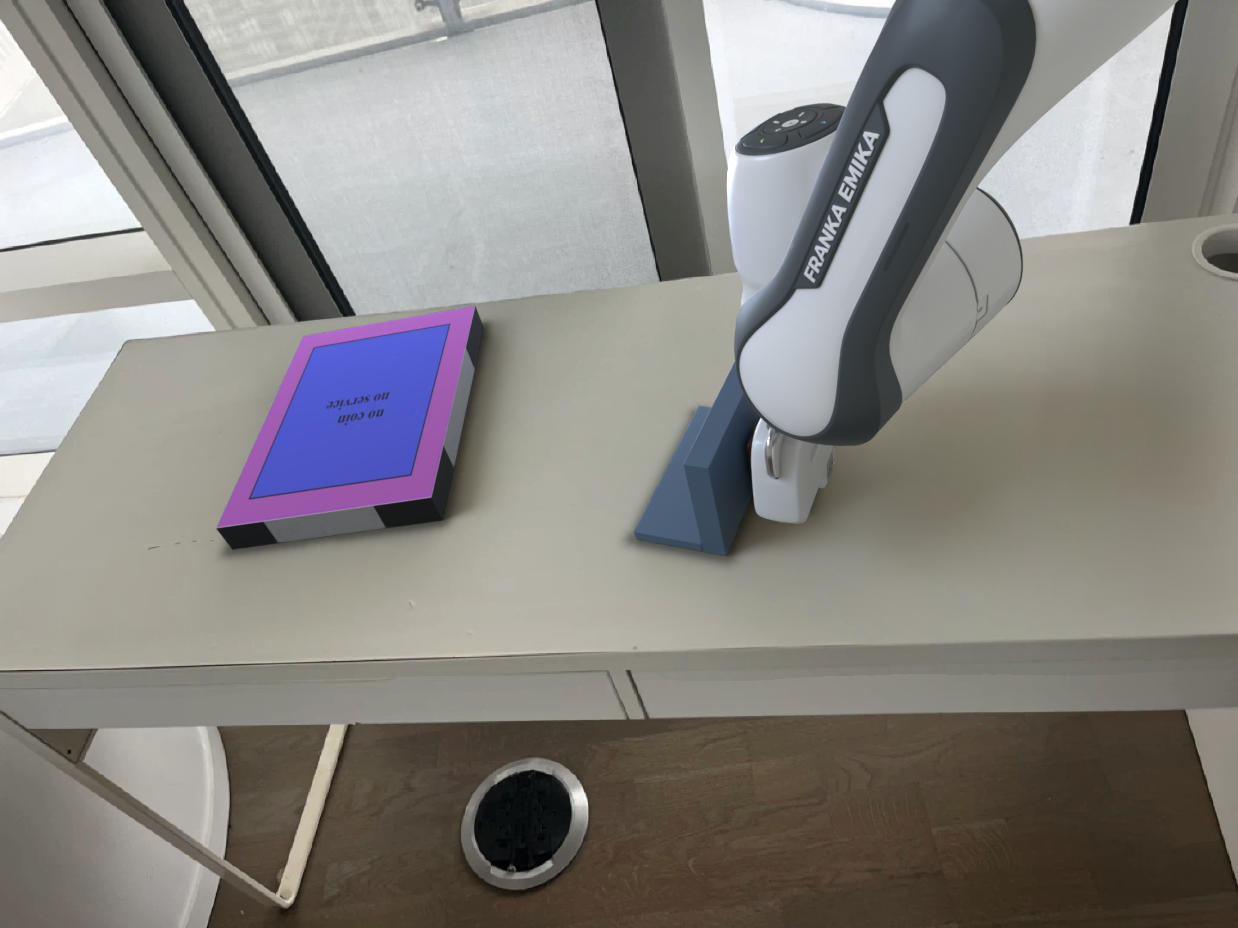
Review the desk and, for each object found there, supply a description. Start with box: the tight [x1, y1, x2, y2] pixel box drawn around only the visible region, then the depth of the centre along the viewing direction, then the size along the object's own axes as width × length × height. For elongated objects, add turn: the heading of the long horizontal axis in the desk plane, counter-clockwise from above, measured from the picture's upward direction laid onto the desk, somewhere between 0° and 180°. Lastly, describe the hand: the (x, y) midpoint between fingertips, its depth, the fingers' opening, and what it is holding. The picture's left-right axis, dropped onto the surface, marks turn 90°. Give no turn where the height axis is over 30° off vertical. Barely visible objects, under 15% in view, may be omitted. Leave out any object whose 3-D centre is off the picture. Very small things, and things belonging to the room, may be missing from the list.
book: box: [215, 305, 484, 550], centre depth 94 cm, size 21×3×30 cm
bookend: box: [633, 361, 759, 557], centre depth 76 cm, size 8×16×10 cm, turn 157°
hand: (819, 474), depth 74 cm, fingers closed
